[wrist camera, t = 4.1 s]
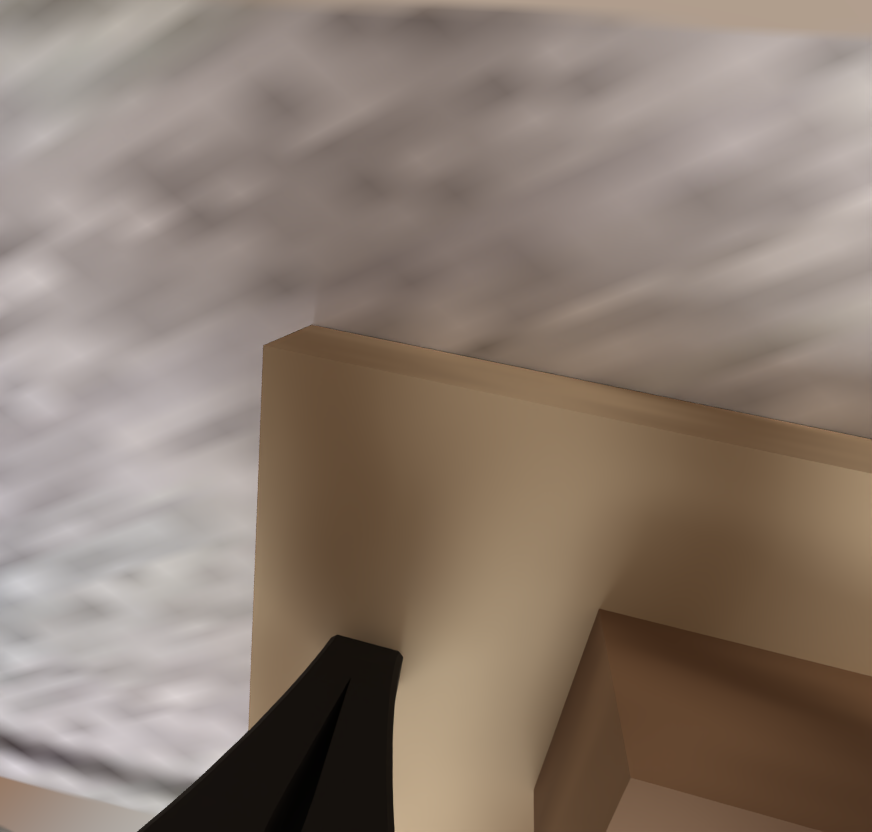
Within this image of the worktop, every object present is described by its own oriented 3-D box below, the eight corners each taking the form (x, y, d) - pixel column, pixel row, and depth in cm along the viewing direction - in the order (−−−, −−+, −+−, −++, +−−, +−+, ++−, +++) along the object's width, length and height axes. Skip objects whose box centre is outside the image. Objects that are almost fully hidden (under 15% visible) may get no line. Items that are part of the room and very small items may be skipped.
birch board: (281, 733, 15) (245, 806, 13) (311, 324, 10) (263, 345, 8) (786, 881, 13) (829, 987, 11) (1072, 480, 9) (1218, 547, 7)
